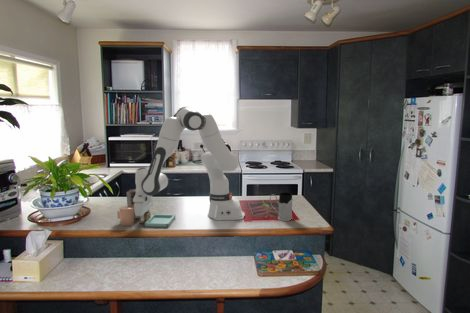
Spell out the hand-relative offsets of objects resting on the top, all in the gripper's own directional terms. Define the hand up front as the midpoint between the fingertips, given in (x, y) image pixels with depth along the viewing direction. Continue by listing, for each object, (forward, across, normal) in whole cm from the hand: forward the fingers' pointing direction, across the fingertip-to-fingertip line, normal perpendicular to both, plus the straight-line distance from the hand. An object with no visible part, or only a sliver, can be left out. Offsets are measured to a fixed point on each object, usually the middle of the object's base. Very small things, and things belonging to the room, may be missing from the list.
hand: (144, 218), depth 187 cm
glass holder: (+2, -15, +78) cm, 79 cm away
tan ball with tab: (+2, +3, -9) cm, 10 cm away
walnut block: (+2, 0, 0) cm, 2 cm away
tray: (+2, -1, +9) cm, 9 cm away
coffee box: (+2, -9, -8) cm, 12 cm away
